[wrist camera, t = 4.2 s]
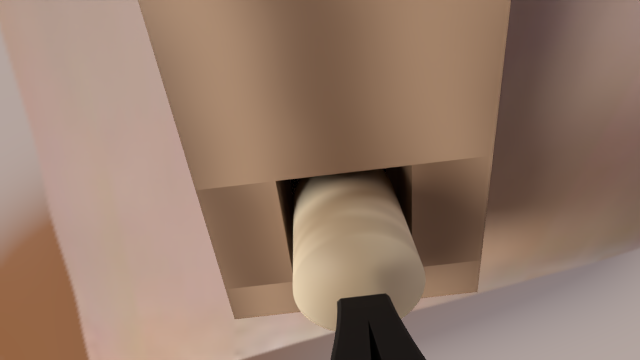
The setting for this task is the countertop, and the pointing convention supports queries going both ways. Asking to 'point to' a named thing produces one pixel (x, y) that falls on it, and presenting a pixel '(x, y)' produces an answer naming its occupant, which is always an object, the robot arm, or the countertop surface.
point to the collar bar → (333, 122)
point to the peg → (351, 245)
